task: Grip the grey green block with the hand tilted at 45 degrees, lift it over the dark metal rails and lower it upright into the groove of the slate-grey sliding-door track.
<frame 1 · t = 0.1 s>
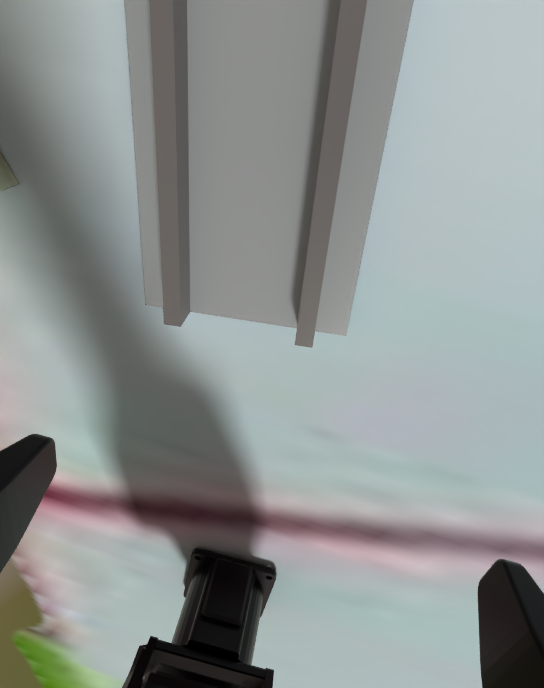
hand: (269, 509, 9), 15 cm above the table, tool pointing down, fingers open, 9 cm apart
door track: (260, 114, 19), on the table
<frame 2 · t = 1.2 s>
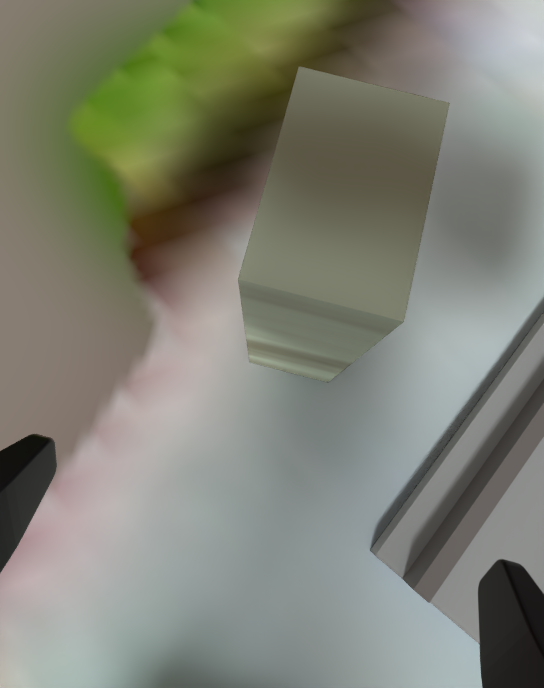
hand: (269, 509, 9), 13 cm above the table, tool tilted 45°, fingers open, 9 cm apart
grey green block: (303, 315, 24), on the table
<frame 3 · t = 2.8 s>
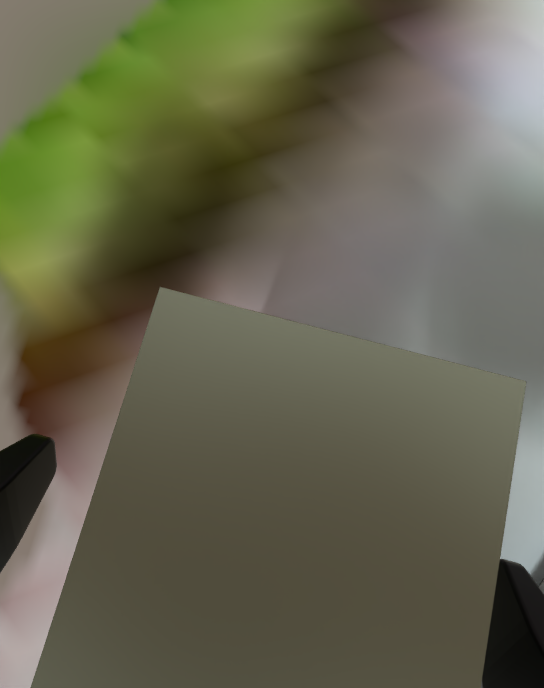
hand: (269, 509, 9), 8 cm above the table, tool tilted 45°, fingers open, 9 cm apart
grey green block: (262, 491, 17), on the table
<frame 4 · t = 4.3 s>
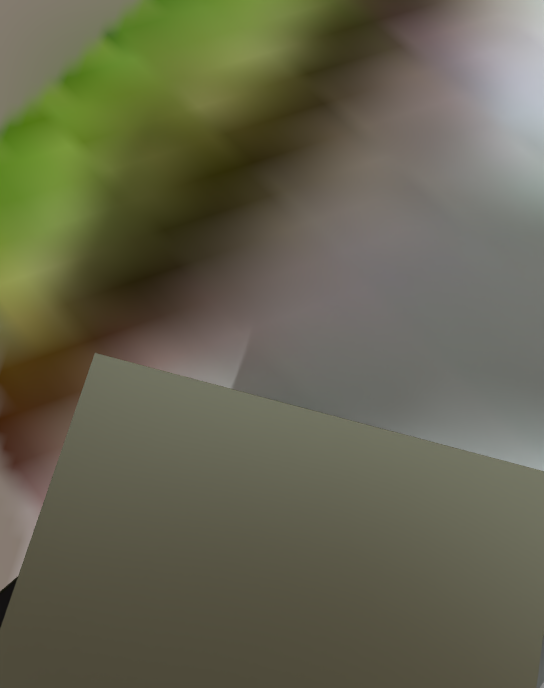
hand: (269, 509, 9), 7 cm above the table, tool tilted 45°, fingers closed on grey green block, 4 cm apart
grey green block: (254, 523, 16), on the table, touching gripper
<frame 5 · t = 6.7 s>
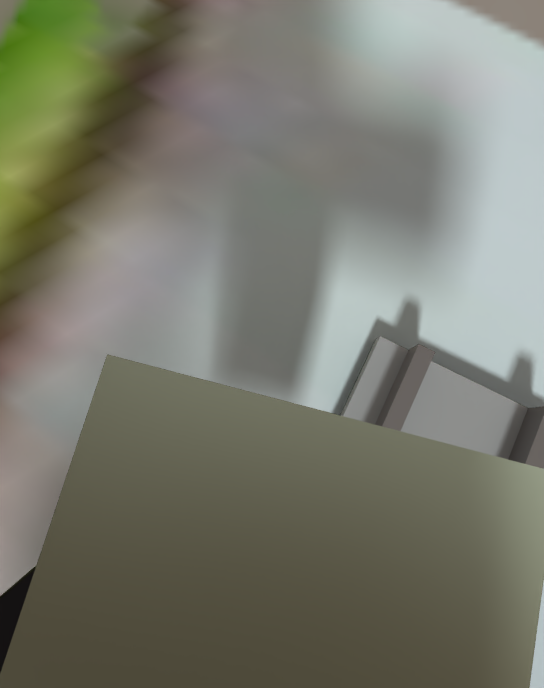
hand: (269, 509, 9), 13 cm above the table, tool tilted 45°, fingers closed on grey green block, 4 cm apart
grey green block: (254, 520, 16), point 7 cm above the table, touching gripper
door track: (394, 557, 22), on the table
when the fingers open (8 cm above the table, at t = 9.5 s): grey green block stays where it is, resting on door track.
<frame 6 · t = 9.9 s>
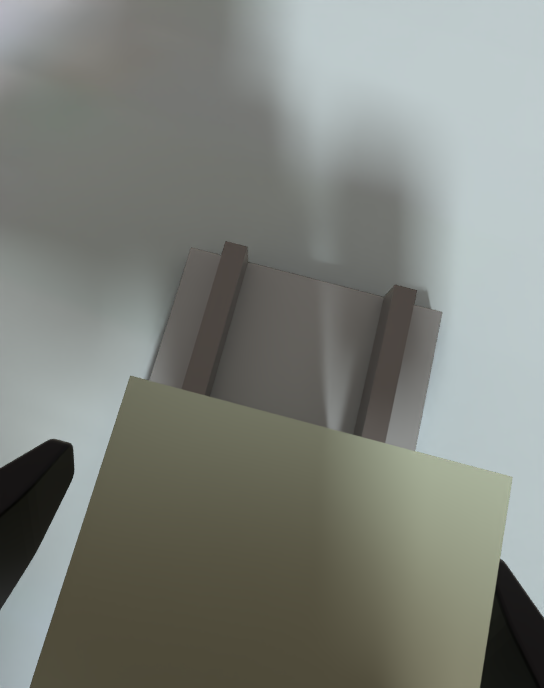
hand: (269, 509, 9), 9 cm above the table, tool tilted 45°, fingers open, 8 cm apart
grey green block: (254, 517, 16), point 1 cm above the table, touching door track
door track: (255, 512, 17), on the table
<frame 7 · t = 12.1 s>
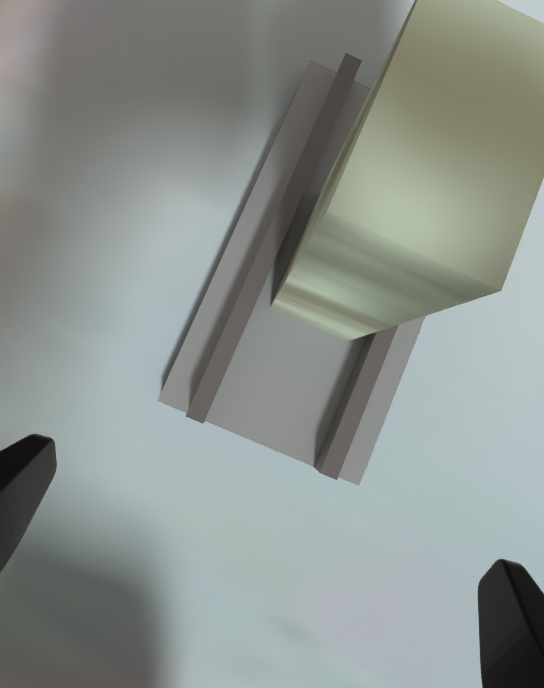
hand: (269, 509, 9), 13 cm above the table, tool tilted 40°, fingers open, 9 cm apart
grey green block: (333, 266, 22), point 1 cm above the table, touching door track
door track: (329, 271, 23), on the table
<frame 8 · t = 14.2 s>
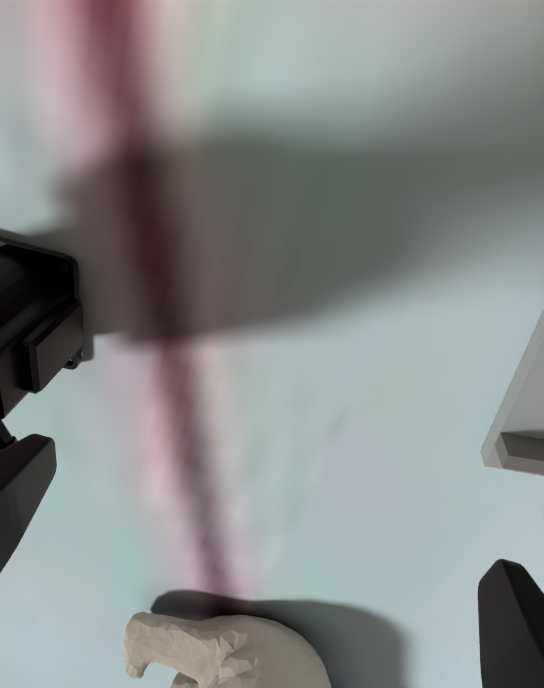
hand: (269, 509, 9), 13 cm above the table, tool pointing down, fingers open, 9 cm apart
animal model: (260, 672, 43), on the table
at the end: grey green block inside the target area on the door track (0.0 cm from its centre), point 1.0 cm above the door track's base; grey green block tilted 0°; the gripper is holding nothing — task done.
